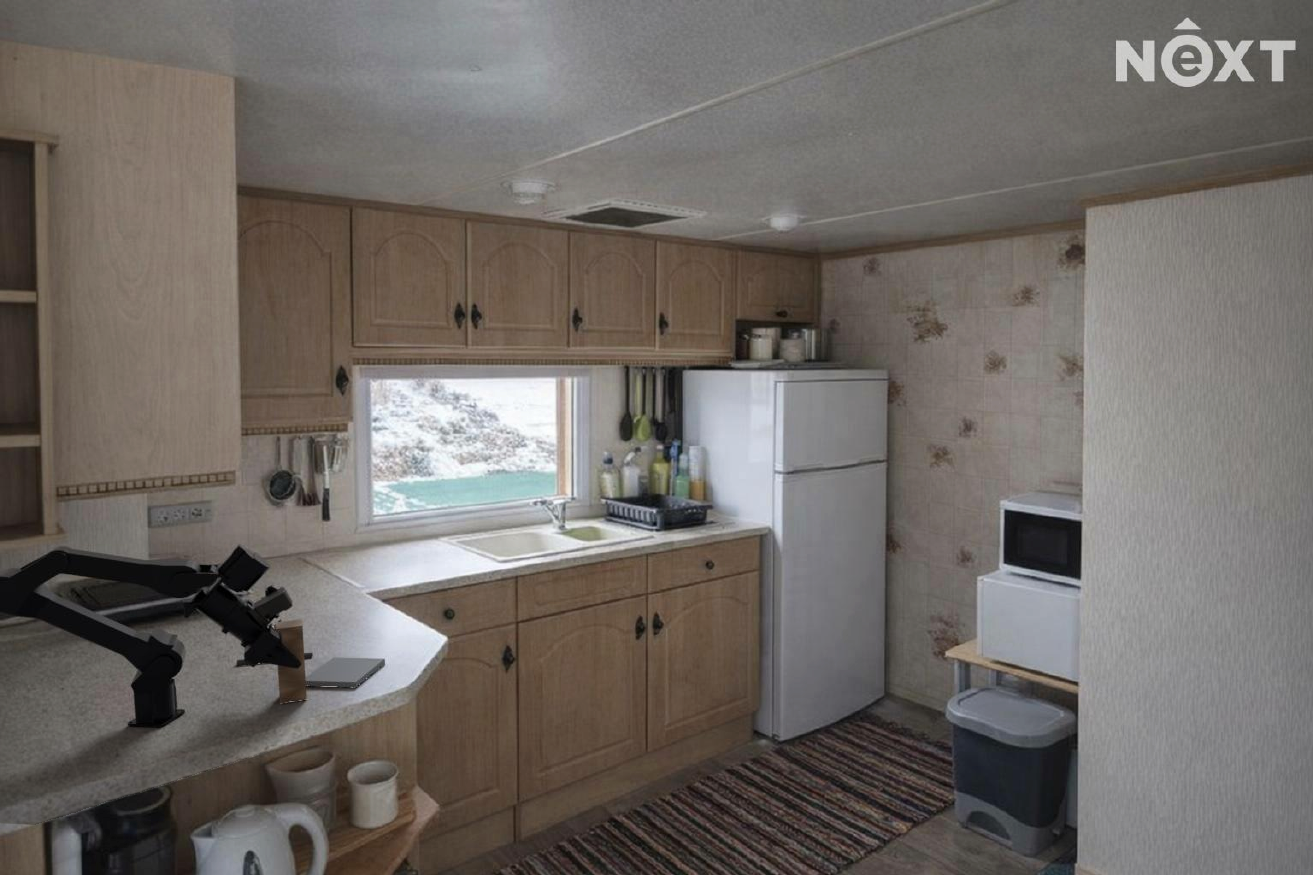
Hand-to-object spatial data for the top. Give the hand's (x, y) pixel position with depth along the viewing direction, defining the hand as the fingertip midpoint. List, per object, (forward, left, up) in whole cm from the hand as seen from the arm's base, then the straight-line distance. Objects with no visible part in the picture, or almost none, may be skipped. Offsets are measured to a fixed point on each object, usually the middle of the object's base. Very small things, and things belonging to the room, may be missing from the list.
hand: (299, 662), depth 160 cm
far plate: (+11, -3, -7) cm, 13 cm away
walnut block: (-1, +1, -7) cm, 7 cm away
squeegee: (+24, +18, -7) cm, 31 cm away
